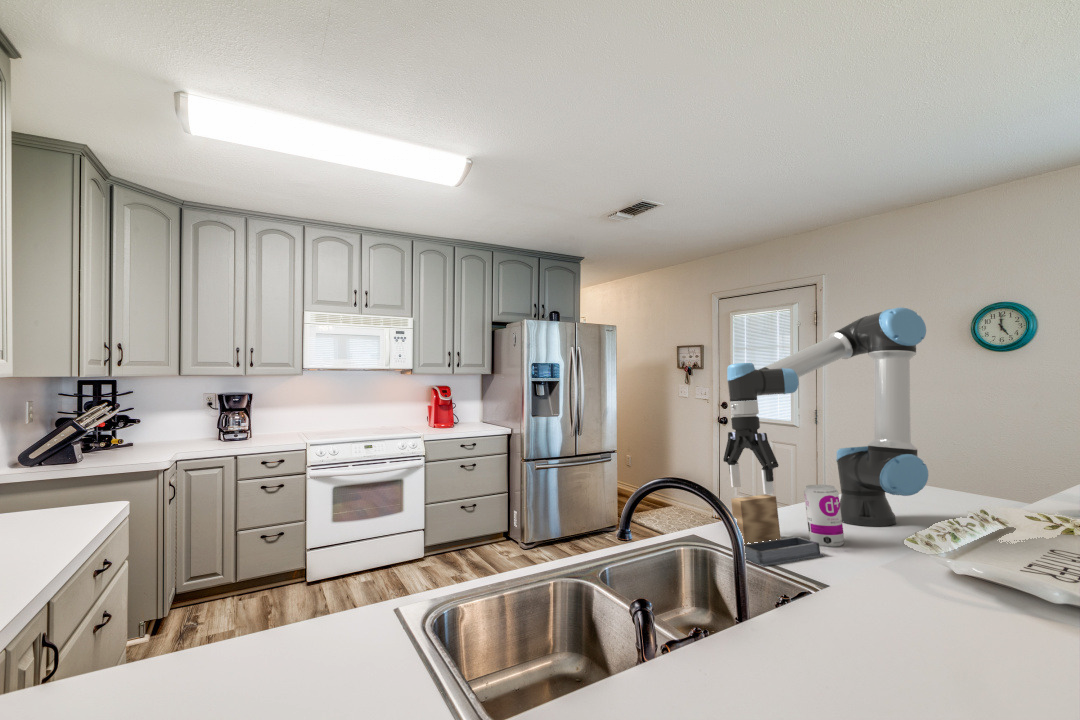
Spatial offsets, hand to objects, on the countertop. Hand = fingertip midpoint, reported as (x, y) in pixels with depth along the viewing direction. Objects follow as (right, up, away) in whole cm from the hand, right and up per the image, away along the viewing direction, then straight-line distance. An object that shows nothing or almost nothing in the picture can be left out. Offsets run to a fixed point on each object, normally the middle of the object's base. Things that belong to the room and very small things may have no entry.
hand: (751, 490), depth 136 cm
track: (0, -12, -16) cm, 20 cm away
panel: (+1, -14, -2) cm, 14 cm away
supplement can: (+17, -13, -8) cm, 23 cm away
